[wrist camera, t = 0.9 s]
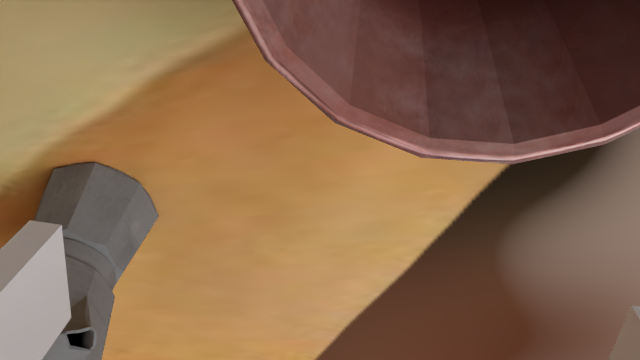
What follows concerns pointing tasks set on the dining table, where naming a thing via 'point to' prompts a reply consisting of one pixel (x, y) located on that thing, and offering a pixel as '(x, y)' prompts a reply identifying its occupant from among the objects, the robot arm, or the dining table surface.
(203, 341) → the dining table surface
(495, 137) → the pottery
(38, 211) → the coffeepot
